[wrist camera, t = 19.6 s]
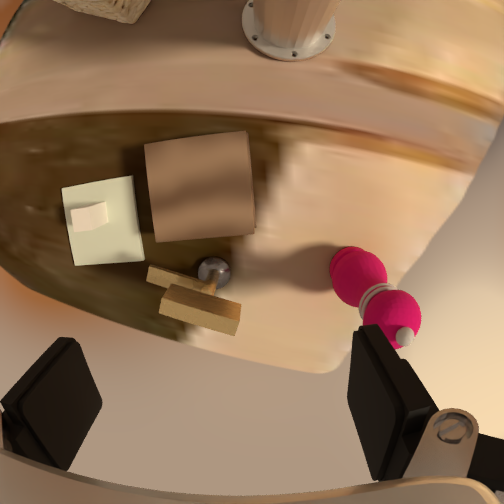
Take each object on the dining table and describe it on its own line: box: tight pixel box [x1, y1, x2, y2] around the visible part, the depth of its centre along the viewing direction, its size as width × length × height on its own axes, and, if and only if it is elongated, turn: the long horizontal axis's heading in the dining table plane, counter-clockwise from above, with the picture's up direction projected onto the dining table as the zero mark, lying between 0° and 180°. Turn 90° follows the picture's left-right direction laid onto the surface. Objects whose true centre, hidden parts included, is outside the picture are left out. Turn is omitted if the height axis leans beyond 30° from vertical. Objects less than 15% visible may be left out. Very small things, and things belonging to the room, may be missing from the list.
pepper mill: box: [330, 247, 421, 349], centre depth 34 cm, size 7×7×20 cm
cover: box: [62, 176, 145, 266], centre depth 40 cm, size 12×12×6 cm
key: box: [146, 264, 241, 336], centre depth 37 cm, size 12×2×12 cm, turn 73°
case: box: [144, 131, 256, 242], centre depth 38 cm, size 12×12×5 cm
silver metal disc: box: [198, 256, 231, 289], centre depth 43 cm, size 4×4×1 cm
